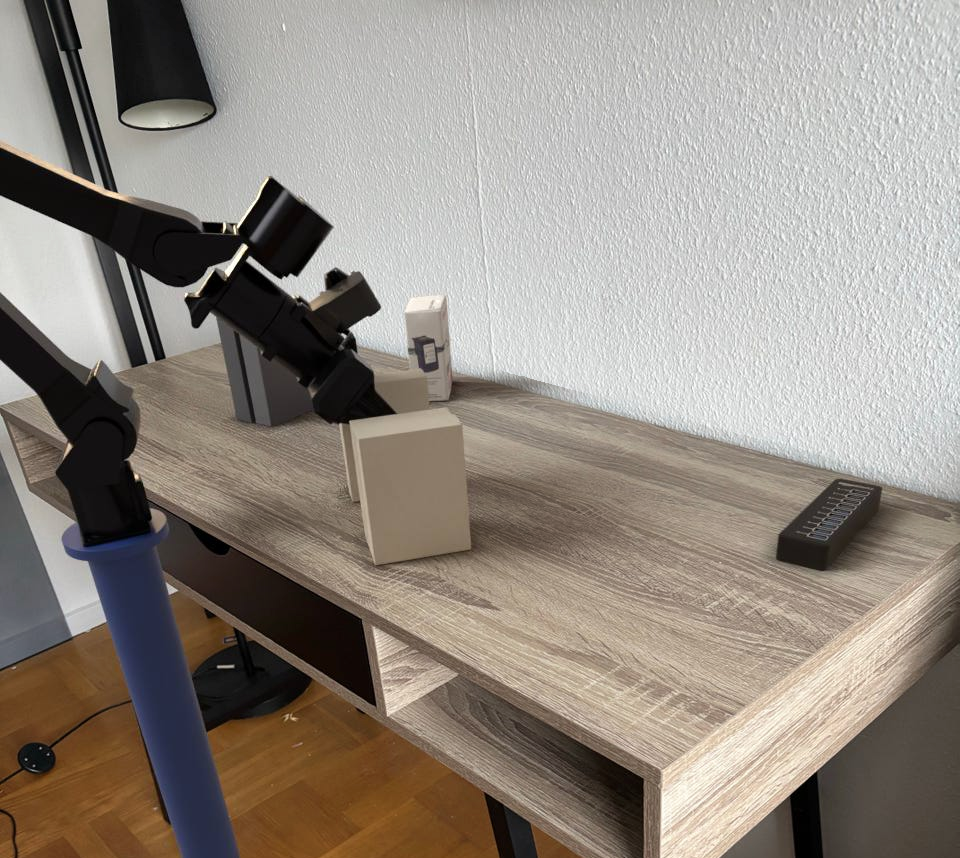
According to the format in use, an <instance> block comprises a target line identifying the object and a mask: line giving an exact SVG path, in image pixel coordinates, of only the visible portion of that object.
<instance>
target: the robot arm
mask: <svg viewBox="0 0 960 858" xmlns="http://www.w3.org/2000/svg"><path fill="white" fill-rule="evenodd" d="M0 197H2V198H4V199H7V200H9V201H11V202H14V203H15V204H17V205H20V206H23V207H25V208H28V209H30V210H32V211H34V212H37V213H38V214H41V215H43V216H45V217H48V218H50V219H52V220H55V221H56V222H59V223H62V224H64V225H66V226H68V227H71V228H73V229H75V230H78V231H80V232H81V233H85V234H87V235H89V236H91V237H93V238H95V239H97V240H98V241H99V242H100V243H103V244H104V245H106V246H107V247H108V248H110V249H111V250H112V251H114V252H115V253H116V254H118V255H119V256H120V257H121V258H123V259H124V260H126V261H127V262H128V263H129V264H131V265H133V266H134V267H136V268H137V269H139V270H141V271H142V272H144V273H145V274H147V275H149V276H150V277H152V278H153V279H155V280H157V281H158V282H159V283H162V284H164V285H165V286H167V287H168V286H169V287H173V288H186V287H188V286H191V285H194V284H196V283H197V282H198V281H200V280H201V279H202V278H203V277H205V274H206V273H207V271H208V269H209V268H212V267H215V266H217V265H220V264H225V263H226V262H230V261H231V260H232V259H233V258H234V257H235V255H236V254H237V252H238V251H239V249H240V248H241V247H242V246H243V247H242V248H241V250H240V251H239V252H238V254H237V255H236V257H235V258H234V259H233V261H232V262H231V263H230V264H229V266H228V267H227V269H226V270H225V271H224V270H222V269H220V268H218V267H215V268H213V269H212V271H211V273H210V274H209V276H208V277H207V278H206V280H205V281H204V283H203V284H202V285H201V287H200V289H199V290H198V291H195V292H186V293H184V297H183V301H184V303H185V305H186V307H187V309H188V312H189V316H190V324H191V327H192V328H193V329H195V330H197V329H199V328H200V327H201V326H202V325H203V323H204V322H205V320H206V319H207V317H208V316H209V315H210V314H211V315H213V316H215V318H216V317H217V318H218V319H220V320H221V321H222V322H224V323H225V324H226V325H228V326H229V327H230V328H232V329H233V330H235V331H236V332H237V333H239V334H240V335H241V336H243V337H244V338H245V339H247V340H248V341H249V342H251V343H252V344H253V345H255V346H256V347H258V348H259V349H260V351H261V355H262V356H263V357H264V358H266V359H267V360H268V361H270V362H271V360H272V359H274V360H275V361H276V362H278V363H279V364H280V365H282V366H283V367H285V368H286V369H287V370H289V371H290V372H291V373H293V374H294V375H295V376H297V377H296V378H297V381H298V383H300V384H301V385H302V386H304V387H305V388H307V387H308V386H309V384H310V383H311V382H312V380H313V379H315V380H314V382H313V383H312V384H311V386H310V387H309V388H308V389H309V395H310V401H311V405H312V408H313V410H312V411H313V414H315V415H316V416H318V417H319V418H320V419H321V420H323V421H325V423H327V424H328V425H330V426H331V425H332V424H335V425H339V424H340V423H343V424H349V425H350V423H349V421H351V420H358V419H365V418H373V417H380V416H387V415H394V414H397V413H396V411H395V410H394V409H393V408H392V407H391V406H390V405H389V404H388V403H387V402H386V400H385V399H384V398H383V397H382V396H381V395H380V394H379V393H378V392H377V391H376V389H375V382H374V378H375V372H374V370H373V368H372V366H371V364H370V363H368V362H367V361H366V360H365V359H364V358H363V357H362V356H361V355H359V352H358V344H357V339H356V337H355V335H354V333H353V332H352V331H351V330H350V328H351V327H353V326H354V325H356V324H358V323H359V322H361V321H362V320H364V319H366V318H367V317H369V318H370V317H373V316H374V315H376V314H377V313H379V311H380V310H381V309H382V305H381V304H380V303H381V302H379V300H378V298H377V297H376V294H375V293H374V291H373V290H372V289H371V286H370V285H369V283H368V281H367V280H366V278H365V276H364V275H363V274H362V272H361V271H355V270H353V271H351V272H350V275H349V274H348V273H346V272H345V271H343V270H342V269H340V268H338V267H337V266H335V267H334V268H331V269H330V270H329V271H327V272H326V273H323V279H324V280H323V281H324V289H325V290H324V291H323V290H322V291H319V293H318V294H319V295H318V296H317V297H315V298H314V299H312V300H311V301H308V300H307V299H305V298H304V297H303V296H301V294H298V295H297V296H296V295H295V294H293V295H290V294H289V293H288V292H287V291H286V290H284V289H283V288H282V287H280V286H279V285H278V284H276V282H274V281H273V280H271V279H270V278H269V277H267V276H266V275H265V274H264V273H263V272H261V271H260V270H259V269H258V268H256V266H254V265H252V264H251V263H250V262H249V261H248V259H249V258H252V259H253V260H254V261H255V262H256V263H258V264H259V265H260V266H261V267H262V268H263V269H264V270H266V271H267V272H269V273H270V274H271V275H273V276H274V277H275V278H277V279H278V280H280V281H281V280H282V279H284V277H285V278H286V279H287V278H289V276H290V275H292V276H293V277H296V278H298V277H300V275H301V273H302V272H303V271H304V270H305V268H306V267H307V265H308V264H309V262H310V261H311V260H312V259H313V257H314V255H315V254H316V253H317V252H318V250H319V249H320V247H321V246H322V245H323V243H324V242H325V241H326V239H327V238H328V236H329V235H330V233H332V231H333V230H334V228H335V226H334V225H333V224H332V223H331V222H330V221H329V220H328V219H327V218H326V217H324V216H323V214H321V213H320V212H319V211H318V210H317V209H315V208H314V206H312V205H311V204H310V203H309V202H307V201H306V200H305V199H304V198H303V197H302V196H300V195H298V196H297V195H295V194H294V192H292V191H291V190H290V189H289V188H287V187H286V186H284V185H283V184H282V183H280V182H279V181H278V179H276V178H275V177H273V176H272V175H268V176H267V177H266V179H265V181H264V182H263V183H262V185H261V186H260V188H259V192H258V194H257V196H256V198H255V199H254V200H253V202H252V204H251V205H250V206H249V208H248V209H247V211H246V212H245V214H244V215H243V216H242V218H241V219H240V220H239V222H227V221H226V220H224V222H222V221H203V220H200V218H199V217H197V216H196V215H194V214H193V213H192V212H190V211H188V210H185V209H183V208H179V207H175V206H172V205H168V204H164V203H161V202H157V201H154V200H150V199H146V198H141V197H136V196H133V195H132V196H131V195H127V194H123V193H118V192H115V191H111V190H108V189H106V188H104V187H102V186H100V185H98V184H95V183H93V182H91V181H89V180H87V179H85V178H82V177H80V176H78V175H75V174H73V173H71V172H70V171H67V170H65V169H64V168H63V169H62V168H61V167H58V166H57V165H54V164H52V163H49V162H48V161H45V160H43V159H41V158H39V157H37V156H34V155H33V154H30V153H29V152H25V151H24V150H22V149H19V148H17V147H15V146H13V145H10V144H9V143H6V142H4V141H2V140H0ZM344 335H345V336H344ZM0 362H2V363H3V364H4V366H6V367H7V368H8V369H9V370H11V372H13V373H14V374H15V375H16V376H17V377H18V378H19V379H20V380H21V381H23V382H24V383H25V384H26V385H27V386H28V387H29V388H30V389H31V390H32V391H33V392H35V394H36V395H37V397H38V398H39V399H40V401H41V402H42V404H43V406H44V408H45V410H46V411H47V413H48V414H49V416H50V418H51V419H52V421H53V423H54V424H55V426H56V427H57V429H58V430H59V431H60V433H61V434H62V435H63V436H64V437H65V438H66V443H65V445H64V448H63V450H62V452H61V456H60V458H59V460H58V463H57V466H56V469H55V472H54V473H55V476H56V477H57V478H58V480H59V481H60V482H61V484H62V485H63V486H64V487H65V489H66V490H67V493H68V497H69V500H70V503H71V506H72V510H73V512H74V516H75V519H76V522H78V526H79V531H80V536H81V541H82V545H83V547H91V546H95V545H99V544H104V543H108V542H113V541H117V540H122V539H126V538H131V537H135V536H140V535H144V534H148V533H150V532H151V528H150V525H149V522H148V521H151V520H152V515H151V511H150V508H151V507H150V504H149V501H148V497H147V493H146V489H145V485H144V482H143V479H142V477H141V475H140V474H139V473H134V470H133V466H132V464H131V460H129V458H130V457H131V455H133V453H134V452H135V450H136V447H137V444H138V439H139V433H140V428H141V423H142V420H141V417H142V416H141V409H140V407H139V405H138V403H137V402H136V400H135V398H134V397H133V395H134V391H135V390H134V389H135V388H133V387H131V386H129V385H127V384H125V383H123V382H122V381H121V380H120V379H118V377H116V375H115V374H114V373H113V371H112V370H111V369H110V368H109V366H108V364H106V363H105V362H104V361H103V360H102V359H99V360H98V361H97V362H96V364H95V365H94V367H93V368H92V369H91V368H90V367H87V366H85V365H84V364H81V363H79V362H78V361H75V360H74V359H72V358H70V357H69V356H68V355H67V354H66V353H65V352H63V351H62V349H61V348H60V347H58V346H57V345H56V344H55V343H54V342H53V341H52V340H51V339H50V338H49V337H48V336H47V335H46V334H45V333H43V331H41V329H40V328H38V326H36V324H34V323H33V322H32V321H31V320H30V319H29V318H28V317H27V316H26V315H25V313H23V312H22V311H21V310H20V309H19V308H17V306H15V305H14V304H13V302H11V301H10V300H9V298H7V297H6V296H5V295H4V294H3V293H2V292H1V291H0Z"/></svg>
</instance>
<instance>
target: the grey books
mask: <svg viewBox="0 0 960 858" xmlns="http://www.w3.org/2000/svg"><path fill="white" fill-rule="evenodd" d="M215 318H216V324H217V329H218V333H219V339H220V344H221V350H222V354H223V359H224V364H225V368H226V373H227V378H228V383H229V387H230V393H231V397H232V402H233V407H234V412H235V413H234V414H235V417H236V420H238V421H242V422H246V423H252V424H253V423H256V424H259V425H263V426H266V427H267V426H268V427H275V426H277V425H279V424H282V423H284V422H287V421H290V420H292V419H294V418H297V417H299V416H302V415H305V414H306V413H309V412H312V411H313V408H312V405H311V401H310V395H309V389H308V388H309V387H310V386H311V384H312V383H313V382H314V380H315V379H313V380H312V382H311V383H310V384H309V386H308V387H307V388H305V387H304V386H302V385H301V384H300V383H298V381H297V378H296V377H297V376H295V375H294V374H293V373H291V372H290V371H289V370H287V369H286V368H285V367H283V366H282V365H280V364H279V363H278V362H276V361H275V360H274V359H272V360H271V362H270V361H268V360H267V359H266V358H264V357H263V356H262V355H261V351H260V349H259V348H258V347H256V346H255V345H253V344H252V343H251V342H249V341H248V340H247V339H245V338H244V337H243V336H241V335H240V334H239V333H237V332H236V331H235V330H233V329H232V328H230V327H229V326H228V325H226V324H225V323H224V322H222V321H221V320H220V319H218V318H217V317H216V316H215Z"/></svg>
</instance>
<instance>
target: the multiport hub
mask: <svg viewBox="0 0 960 858" xmlns="http://www.w3.org/2000/svg"><path fill="white" fill-rule="evenodd" d="M882 493H883V487H882V486H880V485H876V484H872V483H871V484H870V483H865V482H859V481H856V480H855V481H854V480H849V479H844V478H835V479H834V480H833V481H831V482H830V483H829V485H827V487H826V488H825V489H823V490H822V491H821V492H820V493H819V494H818V495H817V496H816V497H815V498H814V499H813V500H812V501H811V502H810V503H809V504H808V505H807V506H806V507H805V508H804V509H803V510H802V511H801V512H800V513H799V514H798V515H797V516H796V517H794V518H793V520H792V521H791V522H790V523H788V524H787V525H786V526H785V527H784V529H782V530H781V531H780V532H779V533H778V535H777V543H776V544H777V545H776V552H775V559H776V560H777V561H780V562H784V563H785V562H786V563H788V564H793V565H797V566H801V567H805V568H809V569H813V570H817V571H825V570H827V569H828V568H829V567H830V566H831V565H832V564H833V562H834V561H835V560H836V559H837V558H838V557H839V556H840V554H841V553H842V552H843V551H844V550H845V549H846V548H847V546H849V544H850V543H851V542H852V541H853V540H854V539H855V537H856V536H857V535H858V534H859V533H860V532H861V531H862V530H863V528H864V527H865V526H866V525H867V524H868V523H869V522H870V521H871V519H872V518H873V517H874V516H875V515H876V514H877V513H878V512H879V509H880V504H881V498H882Z"/></svg>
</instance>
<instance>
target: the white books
mask: <svg viewBox="0 0 960 858" xmlns="http://www.w3.org/2000/svg"><path fill="white" fill-rule="evenodd" d="M349 423H350V430H351V438H352V445H353V452H354V459H355V466H356V473H357V481H358V488H359V495H360V501H359V502H360V509H361V516H362V523H363V524H362V525H363V531H364V537H365V540H366V543H367V545H368V549H369V551H370V555H371V557H372V560H373V563H374V566H381V565H386V564H392V563H398V562H399V563H400V562H404V561H410V560H411V561H412V560H417V559H422V558H429V557H434V556H440V555H446V554H453V553H458V552H464V551H468V550H469V551H470V550H472V539H471V525H470V513H469V498H468V483H467V471H466V457H465V443H464V431H463V428H464V427H463V423H462V422H461V420H460V419H459V418H458V416H457V415H456V414H455V413H451V411H450V410H449V408H448V407H446V406H445V407H438V408H430V410H423V411H416V412H408V413H401V414H394V415H387V416H380V417H373V418H365V419H358V420H351V421H349Z"/></svg>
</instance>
